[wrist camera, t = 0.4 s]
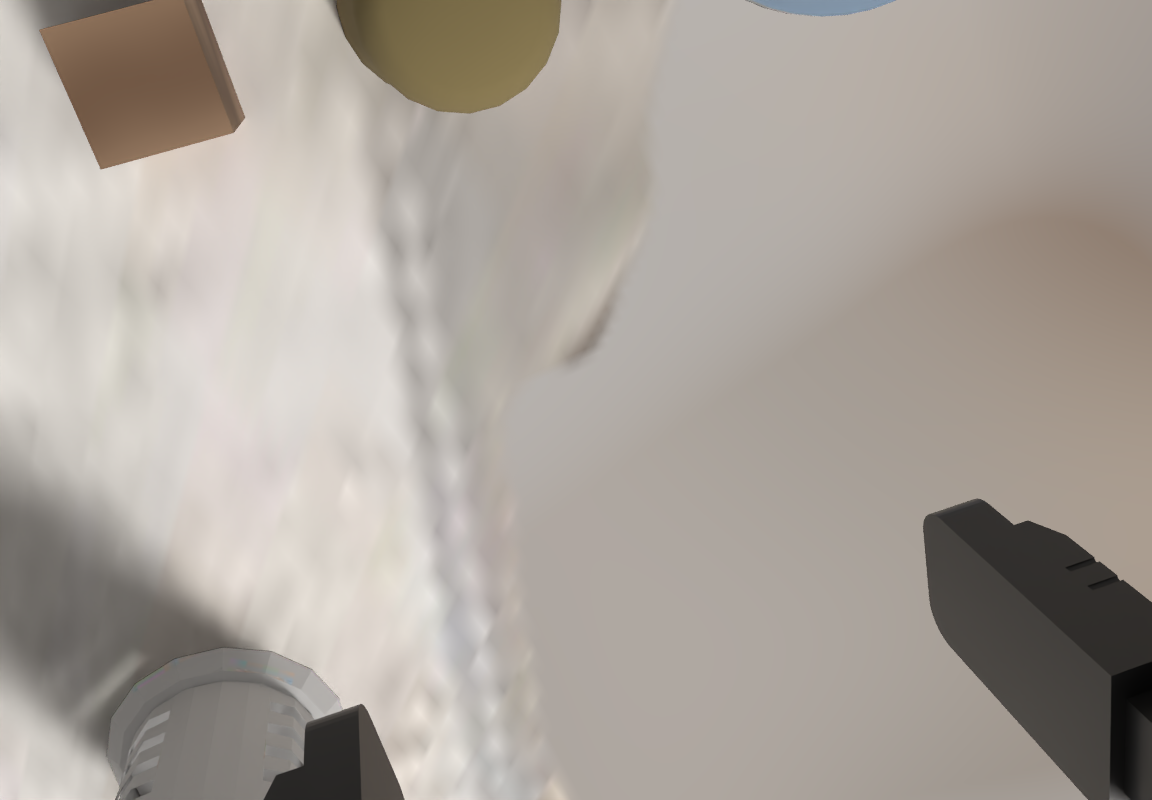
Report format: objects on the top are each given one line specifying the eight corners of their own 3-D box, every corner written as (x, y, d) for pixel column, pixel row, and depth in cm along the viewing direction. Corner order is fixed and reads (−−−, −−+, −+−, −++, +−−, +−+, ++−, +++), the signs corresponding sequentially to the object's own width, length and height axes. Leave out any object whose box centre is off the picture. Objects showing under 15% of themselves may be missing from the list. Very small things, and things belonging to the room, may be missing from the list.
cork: (544, 53, 35) (625, 79, 25) (385, 123, 34) (403, 178, 25) (474, -131, 32) (534, -184, 22) (302, -56, 32) (284, -77, 22)
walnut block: (73, 25, 31) (39, 29, 28) (198, -8, 32) (180, -8, 28) (127, 149, 33) (100, 169, 30) (245, 117, 34) (233, 132, 30)
